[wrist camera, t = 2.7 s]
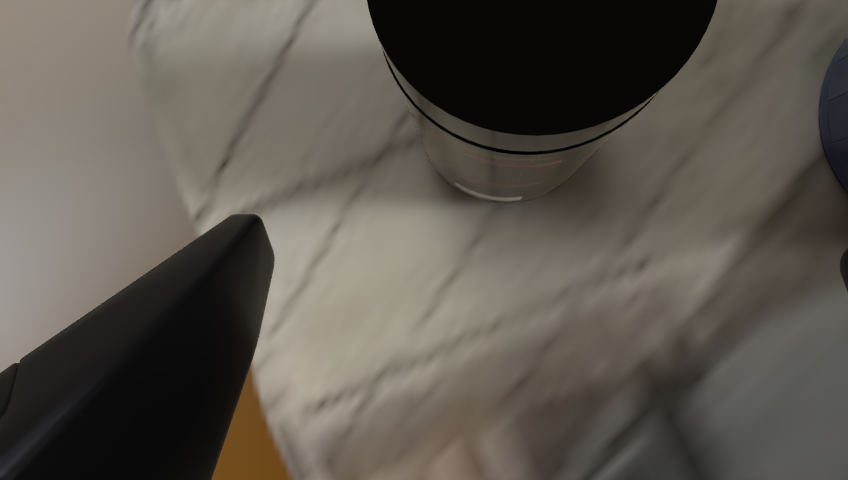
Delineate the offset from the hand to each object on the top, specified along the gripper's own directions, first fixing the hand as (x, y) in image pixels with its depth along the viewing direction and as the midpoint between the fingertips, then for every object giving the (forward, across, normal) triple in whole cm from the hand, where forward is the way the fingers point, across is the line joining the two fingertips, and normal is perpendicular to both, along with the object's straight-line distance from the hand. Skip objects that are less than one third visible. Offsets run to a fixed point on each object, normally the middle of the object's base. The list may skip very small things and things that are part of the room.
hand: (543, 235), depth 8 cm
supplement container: (+12, 0, +5) cm, 13 cm away
